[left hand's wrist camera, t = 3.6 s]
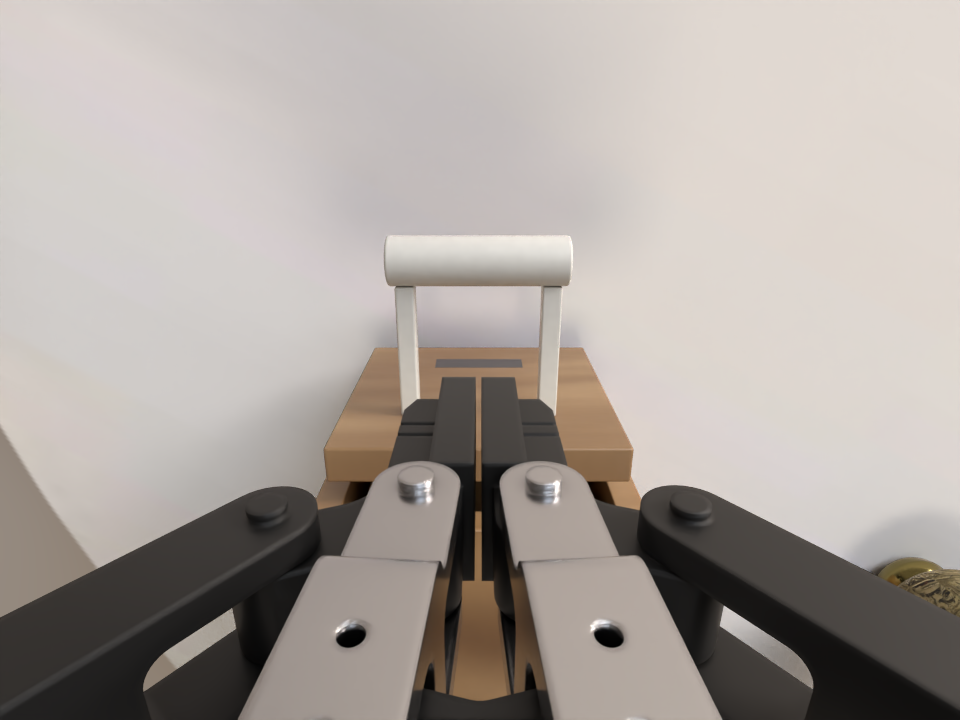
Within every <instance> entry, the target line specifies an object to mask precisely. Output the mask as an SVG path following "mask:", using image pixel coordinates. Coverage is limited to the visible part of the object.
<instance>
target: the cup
mask: <svg viewBox="0 0 960 720" xmlns="http://www.w3.org/2000/svg"><path fill="white" fill-rule="evenodd" d="M878 577H880V578H882V579H884V580H886V581H888V582H890V583H892V584H894V585H896V586H898V587H900V588H902V589H904V590H906V591H908V592H910V593H912V594H914V595H916V596H918V597H920V598H922V599H924V600H926V601H928V602H930V603H932V604H934V605H936V606H938V607H940V608H942V609H944V610H946V611H948V612H950V613H952V614H954V615H956V616H958V617H960V570H953V569H943V568H942V567H940V566H939V565H937V564H935V563H933V562H931V561H928V560H926V559H922V558H917V557H908V558H902V559H899V560H896V561H894V562H892V563H890V564H888V565H887V566H886V567H884V568H883V569H882V570H881V571H880V573H879V574H878Z"/></svg>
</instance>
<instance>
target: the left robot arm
mask: <svg viewBox="0 0 960 720" xmlns="http://www.w3.org/2000/svg"><path fill="white" fill-rule="evenodd" d="M475 511H476V377H442V381H441V387H440V393H439V399H417V400H415V401H414V402H413V403H412V404H411V405H409V406H408V407H407V408H406V409H405V410H404V413H403V416H402V420H401V425H400V427H399V430H398V436H397V437H396V441H395V445H394V448H393V452H392V455H391V459H390V462H389V466H388V469H386V470H384V471H383V472H382V473H380V474H379V475H378V476H377V477H376V478H375V480H374V481H373V483H372V486H371V488H370V490H369V492H368V495H367V496H365V497H363V498H361V499H359V500H356V501H353V502H351V503H347V504H343V505H339V506H334V507H329V508H324V509H319V510H318V505H317V501H316V499H315V497H314V496H313V495H312V494H310V493H309V492H307V491H305V490H303V489H300V488H296V487H284V486H281V487H271V488H265V489H261V490H257V491H254V492H251V493H248V494H246V495H244V496H242V497H240V498H238V499H236V500H234V501H232V502H230V503H228V504H226V505H224V506H222V507H220V508H218V509H216V510H214V511H212V512H210V513H208V514H206V515H204V516H202V517H200V518H198V519H196V520H194V521H192V522H190V523H188V524H186V525H184V526H182V527H180V528H178V529H176V530H174V531H172V532H170V533H168V534H166V535H164V536H162V537H160V538H158V539H156V540H154V541H152V542H150V543H148V544H146V545H144V546H142V547H140V548H138V549H136V550H134V551H132V552H130V553H128V554H126V555H124V556H122V557H120V558H118V559H116V560H114V561H112V562H110V563H108V564H106V565H104V566H102V567H100V568H98V569H96V570H94V571H92V572H90V573H88V574H86V575H84V576H82V577H80V578H78V579H76V580H74V581H72V582H70V583H68V584H66V585H64V586H62V587H60V588H58V589H56V590H54V591H52V592H50V593H48V594H46V595H44V596H42V597H40V598H38V599H36V600H34V601H32V602H30V603H28V604H26V605H24V606H22V607H20V608H18V609H16V610H14V611H12V612H10V613H8V614H6V615H4V616H2V617H0V720H960V617H958V616H956V615H954V614H952V613H950V612H948V611H946V610H944V609H942V608H940V607H938V606H936V605H934V604H932V603H930V602H928V601H926V600H924V599H922V598H920V597H918V596H916V595H914V594H912V593H910V592H908V591H906V590H904V589H902V588H900V587H898V586H896V585H894V584H892V583H890V582H888V581H886V580H884V579H882V578H880V577H878V576H876V575H874V574H872V573H870V572H868V571H866V570H864V569H862V568H860V567H858V566H856V565H854V564H852V563H850V562H848V561H846V560H844V559H842V558H840V557H838V556H836V555H834V554H832V553H830V552H828V551H826V550H824V549H822V548H820V547H818V546H816V545H814V544H812V543H810V542H808V541H806V540H804V539H802V538H800V537H798V536H796V535H794V534H792V533H790V532H788V531H786V530H784V529H782V528H780V527H778V526H776V525H774V524H772V523H770V522H768V521H766V520H764V519H762V518H760V517H758V516H756V515H754V514H752V513H750V512H748V511H746V510H744V509H742V508H740V507H738V506H736V505H734V504H732V503H730V502H728V501H726V500H724V499H722V498H720V497H718V496H716V495H714V494H712V493H710V492H707V491H704V490H701V489H697V488H693V487H688V486H678V485H670V486H662V487H658V488H655V489H652V490H650V491H649V492H647V493H646V494H645V495H644V496H643V497H642V500H641V503H640V510H636V509H631V508H626V507H621V506H616V505H612V504H608V503H605V502H602V501H599V500H597V499H594V497H593V495H592V492H591V490H590V488H589V486H588V483H587V481H586V480H585V478H584V477H583V476H582V475H581V474H580V473H578V472H577V471H576V470H574V469H572V468H570V467H568V465H567V461H566V457H565V454H564V450H563V446H562V443H561V439H560V436H559V432H558V428H557V425H556V420H555V417H554V413H553V410H552V409H551V408H550V407H549V406H547V405H546V404H545V403H544V402H543V401H542V400H540V399H518V394H517V388H516V381H515V377H481V537H482V581H494V597H495V601H496V604H497V606H498V627H499V635H500V643H501V651H502V659H503V667H504V675H505V683H506V691H507V696H503V697H499V698H495V699H491V700H485V701H475V700H469V699H465V698H461V697H457V696H453V691H454V683H455V675H456V667H457V659H458V651H459V643H460V635H461V627H462V581H475ZM723 606H726V607H727V608H729V609H730V610H732V611H733V612H735V613H737V614H738V615H740V616H741V617H743V618H744V619H746V620H747V621H749V622H750V623H752V624H754V625H755V626H757V627H758V628H760V629H761V630H763V631H764V632H766V633H767V634H769V635H770V636H772V637H774V638H775V639H777V640H778V641H780V642H781V643H783V644H784V645H786V646H787V647H789V648H790V649H791V650H793V651H794V652H795V653H796V654H797V655H798V656H799V657H800V658H801V659H802V660H803V662H804V663H805V664H806V666H807V667H808V669H809V671H810V673H811V676H812V679H813V686H814V687H813V689H811V688H810V687H808V686H807V685H805V684H804V683H802V682H801V681H799V680H798V679H796V678H795V677H793V676H792V675H790V674H789V673H788V672H786V671H785V670H783V669H782V668H780V667H779V666H777V665H776V664H774V663H773V662H771V661H770V660H768V659H767V658H766V657H764V656H763V655H761V654H760V653H758V652H757V651H755V650H754V649H752V648H751V647H749V646H748V645H747V644H745V643H744V642H742V641H741V640H739V639H738V638H736V637H735V636H733V635H732V634H730V633H729V632H727V631H726V630H725V629H723V628H722V627H720V621H721V616H722V611H723ZM231 608H232V609H233V614H234V619H235V624H236V628H237V629H235V630H234V631H232V632H231V633H230V634H228V635H227V636H225V637H224V638H222V639H221V640H219V641H218V642H216V643H215V644H213V645H212V646H211V647H209V648H208V649H206V650H205V651H203V652H202V653H200V654H199V655H197V656H196V657H194V658H193V659H191V660H190V661H189V662H187V663H186V664H184V665H183V666H181V667H180V668H178V669H177V670H175V671H174V672H173V673H171V674H170V675H168V676H167V677H165V678H164V679H162V680H161V681H159V682H158V683H156V684H155V685H153V686H152V687H150V688H149V689H148V690H146V691H144V692H143V683H144V679H145V677H146V674H147V672H148V671H149V669H150V667H151V666H152V665H153V663H154V662H155V661H156V660H157V659H158V658H159V657H160V656H161V655H162V654H163V653H164V652H165V651H167V650H168V649H170V648H171V647H173V646H174V645H176V644H177V643H179V642H180V641H182V640H183V639H185V638H186V637H188V636H190V635H191V634H193V633H194V632H196V631H197V630H199V629H200V628H202V627H203V626H205V625H206V624H208V623H210V622H211V621H213V620H214V619H216V618H217V617H219V616H220V615H222V614H223V613H225V612H226V611H228V610H230V609H231Z"/></svg>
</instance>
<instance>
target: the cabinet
mask: <svg viewBox="0 0 960 720" xmlns="http://www.w3.org/2000/svg"><path fill="white" fill-rule="evenodd" d="M587 483H588V486H589V488H590V490H591V492H592V495H593V497H594V499H597V500H599V501H602V502H605V503H608V504H612V505H616V506H621V507H626V508H631V509H636V510H640V503H641V498H640V496H639V493H638V491H637V489H636V487H635V484H634V482H633V480H632V478H631V476H630V481H628V482H587ZM370 484H371V482H329V481H327V476H326V479H325V481H324V483H323V485H322V487H321V490H320V492H319V494H318V496H317V498H316V501H317V505H318V510H319V509H324V508H329V507H334V506H339V505H343V504H347V503H351V502H353V501H356V500H359V499H361V498H363V497H365V496H367V494H368V491H369V488H370ZM453 696H457V697H461V698H465V699H469V700H475V701H485V700H491V699H495V698H499V697H503V696H507V691H506V683H505V675H504V667H503V659H502V651H501V643H500V635H499V627H498V606H497V604H496V601H495V597H494V581H482V537H481V512H475V581H462V627H461V635H460V643H459V651H458V659H457V667H456V675H455V683H454V691H453Z"/></svg>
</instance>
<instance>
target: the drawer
mask: <svg viewBox="0 0 960 720" xmlns="http://www.w3.org/2000/svg"><path fill="white" fill-rule="evenodd" d="M572 268H573V247H572V240H571V238H570V236H568V235H389V236H387V237H386V240H385V245H384V270H385V277H386V281H387V284H388V285H389V286H396V287H395V305H396V323H397V341H398V348H375V349H374V351H373V353H372V355H371V357H370V359H369V361H368V363H367V365H366V367H365V369H364V371H363V373H362V375H361V377H360V379H359V381H358V383H357V384H356V386H355V388H354V390H353V392H352V394H351V396H350V398H349V400H348V402H347V404H346V406H345V408H344V410H343V412H342V414H341V416H340V418H339V420H338V422H337V424H336V426H335V428H334V430H333V432H332V434H331V436H330V438H329V440H328V441H327V443H326V445H325V447H324V458H325V467H326V476H327V481H329V482H371V484H370V488H371V486H372V483H373V481H374V480H375V478H376V477H377V476H378V475H379V474H380V473H382V472H383V471H384V470H386V469H388V466H389V462H390V459H391V455H392V452H393V448H394V445H395V441H396V437H397V436H398V430H399V427H400V425H401V420H402V416H403V413H404V410H405V409H406V408H407V407H408V406H409V405H411V404H412V403H413V402H414V401H415V400H417V399H439V393H440V387H441V381H442V377H476V511H475V512H481V377H515V381H516V388H517V394H518V399H540V400H542V401H543V402H544V403H545V404H546V405H547V406H549V407H550V408H551V409H552V410H553V413H554V417H555V420H556V425H557V428H558V432H559V436H560V439H561V443H562V446H563V450H564V454H565V457H566V461H567V465H568V467H570V468H572V469H574V470H576V471H577V472H578V473H580V474H581V475H582V476H583V477H584V478H585V480H586V481H587V482H628V481H630V476H631V467H632V458H633V447H632V445H631V443H630V441H629V439H628V437H627V435H626V433H625V431H624V429H623V427H622V425H621V423H620V421H619V419H618V417H617V415H616V413H615V411H614V409H613V407H612V405H611V403H610V401H609V399H608V397H607V395H606V393H605V391H604V389H603V387H602V385H601V383H600V381H599V379H598V377H597V375H596V373H595V371H594V369H593V367H592V365H591V363H590V361H589V359H588V357H587V355H586V353H585V351H584V349H583V348H559V345H560V327H561V308H562V287H561V286H568V285H569V283H570V281H571V277H572ZM416 286H541V310H540V335H539V348H418V333H417V309H416ZM370 488H369V490H370ZM368 492H369V491H368ZM367 495H368V494H367Z"/></svg>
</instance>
